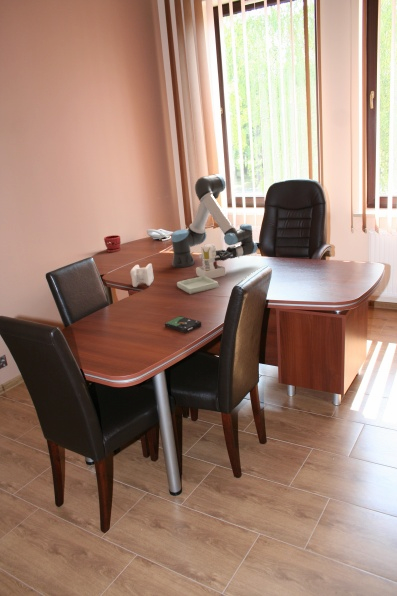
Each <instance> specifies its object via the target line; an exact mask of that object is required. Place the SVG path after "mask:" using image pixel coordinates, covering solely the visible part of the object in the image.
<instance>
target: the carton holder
mask: <svg viewBox="0 0 397 596" xmlns="http://www.w3.org/2000/svg"><path fill="white" fill-rule="evenodd" d="M195 272H196V277H200V276H206V277H208V278H210V279H212V280H213V279H214V278H219V277H220V278H221V277H223V276H226V267H225V266H222V265H220V264H218V263H217V269H213V270H209V271H205V270H203V265H202V266H198V267H196V268H195Z"/></svg>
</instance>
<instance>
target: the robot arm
mask: <svg viewBox="0 0 397 596" xmlns="http://www.w3.org/2000/svg"><path fill="white" fill-rule="evenodd" d="M225 189H226V181H225V178H224V177H223V175H221V174H219V173H216V174H215V173H214V174H209V175H205V176H201V177H200V178H198V179H197V180H196V181H195V184H194V191H195V195H196V196H197V199H198V201H199V205H198V207H197V210H196V214H195V215H194V218H193V221H192V223H190V224H189V226H188V229H186V228H185V229H182V228H181V229H177V230H175V231H172V233H171V244H172V251H173V256H172V257H173V258H172V263H171V264H172V265H171V266H172V267H174V268H187V267H191V266H193V265H194V264H195V260H194V257H193V254H192V253H191V247H195V246H198V245H201V244H203V243H204V242H205V241H206V239H207V232H206V231H207V230H206V228H205V227H206V224H207V221H208V218H209V216H210V215H211V217H212V218H213V220H214V222H215V223H216V224H217V226H218V227H219V229H220V230H221V232H222V233H223V235H224V236H223V241H224V243H225V244H226V245H227V246H228V247H227V248H226V250H225V249H220V250H219V249H218V250H216V257H212V258H209V263H211V262H215V261H217V262H218V261H222V262H224V261H226V260H229V259H235V258H238V259H240V257H243V256H248V255H249V256H250V255H253V254H255V253H257V251H258V246H257V242H255V241H254V240H253V228H252V226H253V225H252V224H250V223H244V224H240V225H239V229H236V228H235V227H234V224H233V223H232V222H231V221H230V219H229V217H228V215H227V214H226V213H225V212H224V210H223V209H222V207H221V205H220V204H219V203H218V201H217V199H218V198H219V196H220V193H221V192H224V191H225ZM238 243H240V244H238ZM198 256H199V259H200V260H202V253H199V255H198Z"/></svg>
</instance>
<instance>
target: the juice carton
mask: <svg viewBox="0 0 397 596" xmlns="http://www.w3.org/2000/svg"><path fill="white" fill-rule="evenodd" d="M216 251H217V250H216V246H215V244H214V243H212V244H211V243H208V244H204V245H202V246H201V252H200V254H202V258H201V260H202V266H203V270H205V271H209V270H213V269H217V264H218V261H215V262H211V263H209V258H212V257H216Z"/></svg>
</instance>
